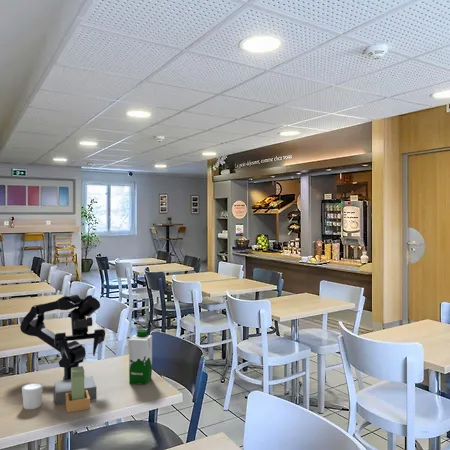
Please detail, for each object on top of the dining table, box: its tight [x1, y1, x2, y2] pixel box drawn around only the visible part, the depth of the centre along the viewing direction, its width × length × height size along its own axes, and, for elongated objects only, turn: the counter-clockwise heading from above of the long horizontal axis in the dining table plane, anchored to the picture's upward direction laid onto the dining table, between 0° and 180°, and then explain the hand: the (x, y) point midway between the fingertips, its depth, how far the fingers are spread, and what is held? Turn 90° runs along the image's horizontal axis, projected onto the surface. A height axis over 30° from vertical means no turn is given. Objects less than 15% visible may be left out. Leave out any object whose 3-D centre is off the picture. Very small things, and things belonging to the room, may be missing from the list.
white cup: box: [21, 382, 44, 410], centre depth 151 cm, size 7×7×7 cm
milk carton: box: [128, 329, 153, 385], centre depth 175 cm, size 9×9×20 cm
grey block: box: [54, 375, 97, 413], centre depth 157 cm, size 21×14×4 cm
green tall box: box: [71, 365, 85, 401], centre depth 151 cm, size 5×4×13 cm
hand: (81, 357), depth 163 cm, fingers open, 9 cm apart
